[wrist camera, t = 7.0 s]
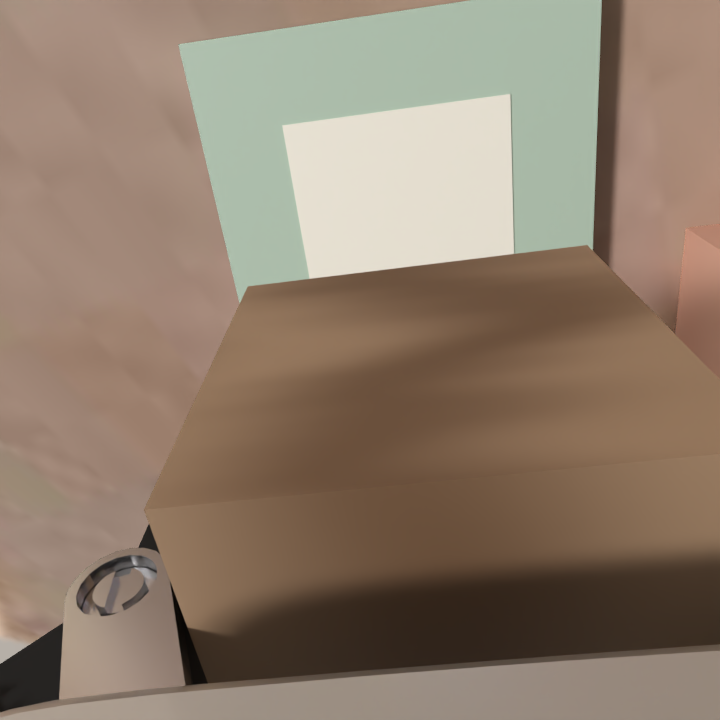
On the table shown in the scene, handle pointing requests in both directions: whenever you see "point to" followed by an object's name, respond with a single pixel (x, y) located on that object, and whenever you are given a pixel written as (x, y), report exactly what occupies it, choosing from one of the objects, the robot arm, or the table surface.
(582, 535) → the walnut block
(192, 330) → the table surface
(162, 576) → the robot arm
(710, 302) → the terracotta block
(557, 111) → the base plate
